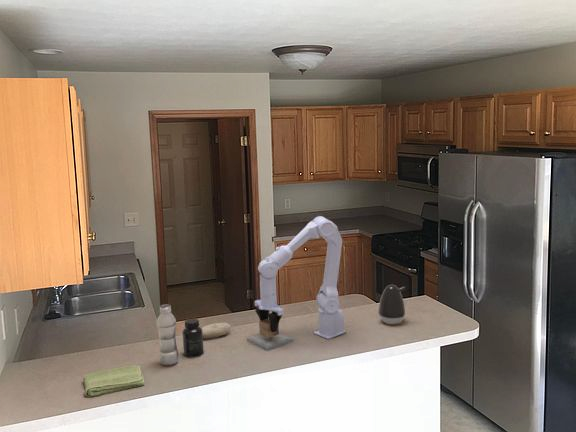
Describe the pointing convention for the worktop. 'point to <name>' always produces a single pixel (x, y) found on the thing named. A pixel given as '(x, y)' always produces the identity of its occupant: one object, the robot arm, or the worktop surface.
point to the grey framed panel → (270, 341)
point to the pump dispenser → (392, 305)
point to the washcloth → (112, 380)
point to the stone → (215, 330)
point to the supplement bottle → (192, 338)
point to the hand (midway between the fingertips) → (269, 329)
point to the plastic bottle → (167, 336)
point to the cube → (267, 328)
